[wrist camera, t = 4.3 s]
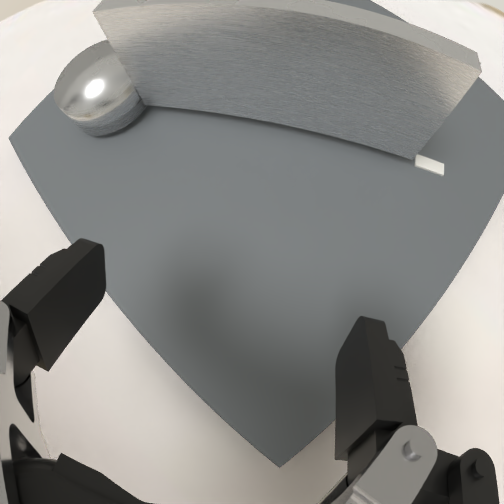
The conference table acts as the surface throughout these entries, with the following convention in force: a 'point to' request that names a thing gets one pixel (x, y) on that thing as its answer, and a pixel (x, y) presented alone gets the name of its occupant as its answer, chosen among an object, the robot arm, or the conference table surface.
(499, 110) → the dial plate
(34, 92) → the conference table surface
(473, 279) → the conference table surface
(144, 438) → the conference table surface
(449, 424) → the conference table surface
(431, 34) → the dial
